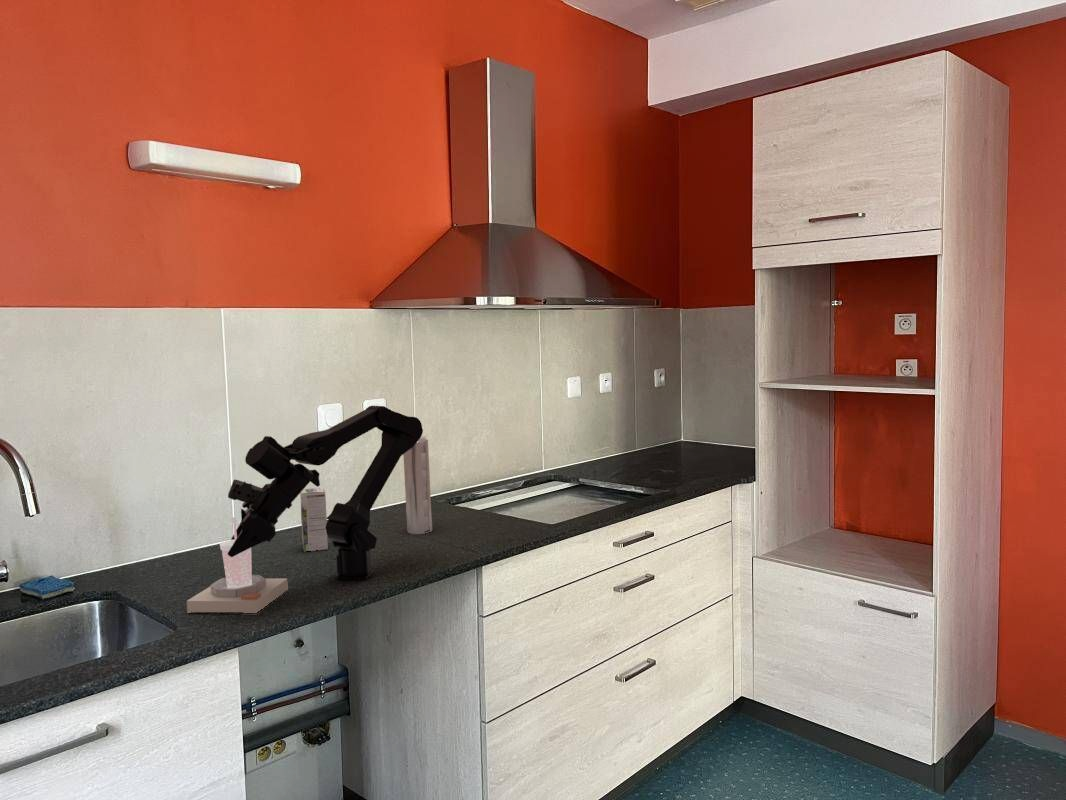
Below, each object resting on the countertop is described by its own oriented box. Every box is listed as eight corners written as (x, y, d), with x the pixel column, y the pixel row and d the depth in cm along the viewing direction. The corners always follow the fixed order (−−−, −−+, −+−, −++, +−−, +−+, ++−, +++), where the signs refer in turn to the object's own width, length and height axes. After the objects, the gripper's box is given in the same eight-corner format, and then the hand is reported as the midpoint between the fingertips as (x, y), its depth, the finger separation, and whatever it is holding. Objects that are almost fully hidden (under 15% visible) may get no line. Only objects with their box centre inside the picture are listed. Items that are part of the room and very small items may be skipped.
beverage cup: (228, 594, 158) (222, 522, 157) (219, 586, 163) (213, 517, 162) (260, 587, 161) (254, 517, 160) (250, 580, 166) (245, 512, 165)
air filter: (408, 535, 210) (404, 439, 208) (405, 529, 216) (401, 436, 214) (434, 533, 212) (429, 437, 209) (430, 527, 218) (425, 434, 216)
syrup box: (302, 547, 202) (298, 489, 201) (326, 544, 204) (323, 486, 203) (304, 552, 197) (300, 493, 196) (329, 549, 199) (325, 490, 198)
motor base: (288, 590, 168) (286, 571, 168) (257, 614, 154) (255, 593, 154) (224, 590, 170) (222, 571, 170) (187, 613, 156) (186, 593, 156)
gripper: (250, 458, 170) (197, 516, 167) (252, 472, 152) (193, 538, 150) (292, 491, 173) (241, 549, 171) (299, 508, 156) (242, 573, 153)
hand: (229, 551), depth 161 cm, fingers closed on beverage cup, 6 cm apart
